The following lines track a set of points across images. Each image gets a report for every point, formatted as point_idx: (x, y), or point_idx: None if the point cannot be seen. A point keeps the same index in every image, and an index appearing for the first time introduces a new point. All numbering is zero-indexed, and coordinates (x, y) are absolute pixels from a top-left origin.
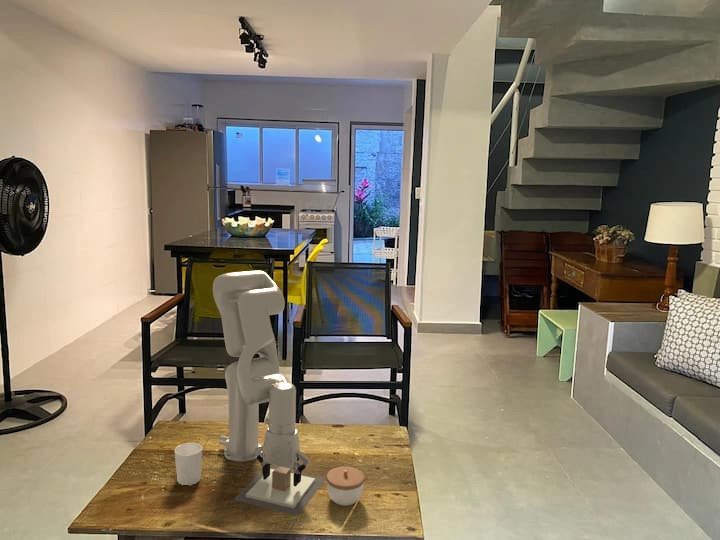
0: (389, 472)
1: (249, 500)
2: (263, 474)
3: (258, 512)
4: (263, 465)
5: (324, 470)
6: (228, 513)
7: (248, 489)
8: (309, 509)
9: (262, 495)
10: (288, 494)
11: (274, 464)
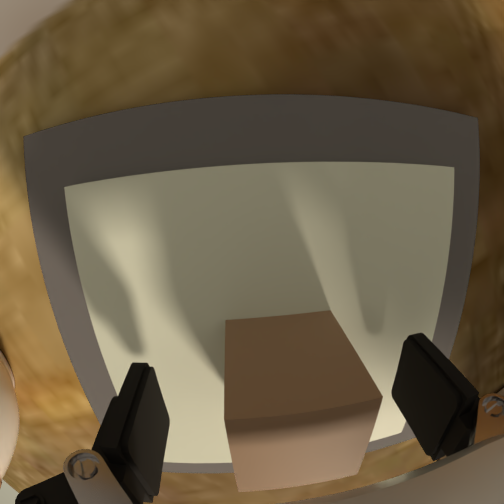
0: None
1: (408, 136)
2: (440, 354)
3: (290, 54)
4: (482, 407)
5: (178, 496)
6: (430, 16)
7: (455, 245)
8: (23, 239)
9: (355, 196)
10: (175, 296)
11: (398, 490)
